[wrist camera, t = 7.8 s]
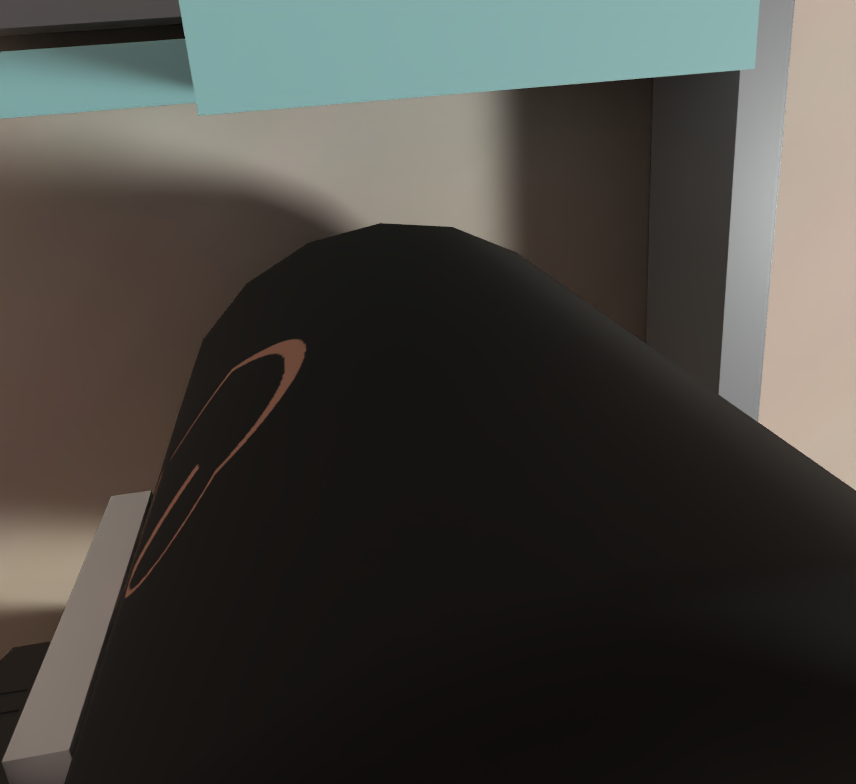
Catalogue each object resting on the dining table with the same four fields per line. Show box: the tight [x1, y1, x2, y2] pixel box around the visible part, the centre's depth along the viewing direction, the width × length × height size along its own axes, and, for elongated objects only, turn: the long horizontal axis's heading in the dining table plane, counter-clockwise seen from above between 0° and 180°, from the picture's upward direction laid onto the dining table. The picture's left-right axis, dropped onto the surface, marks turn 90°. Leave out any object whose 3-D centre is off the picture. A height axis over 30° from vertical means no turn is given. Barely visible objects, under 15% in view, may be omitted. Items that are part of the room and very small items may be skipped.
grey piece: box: [0, 0, 795, 422], centre depth 22 cm, size 19×25×4 cm
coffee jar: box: [64, 223, 856, 784], centre depth 13 cm, size 11×11×18 cm
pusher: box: [0, 0, 760, 119], centre depth 13 cm, size 16×2×15 cm, turn 94°
